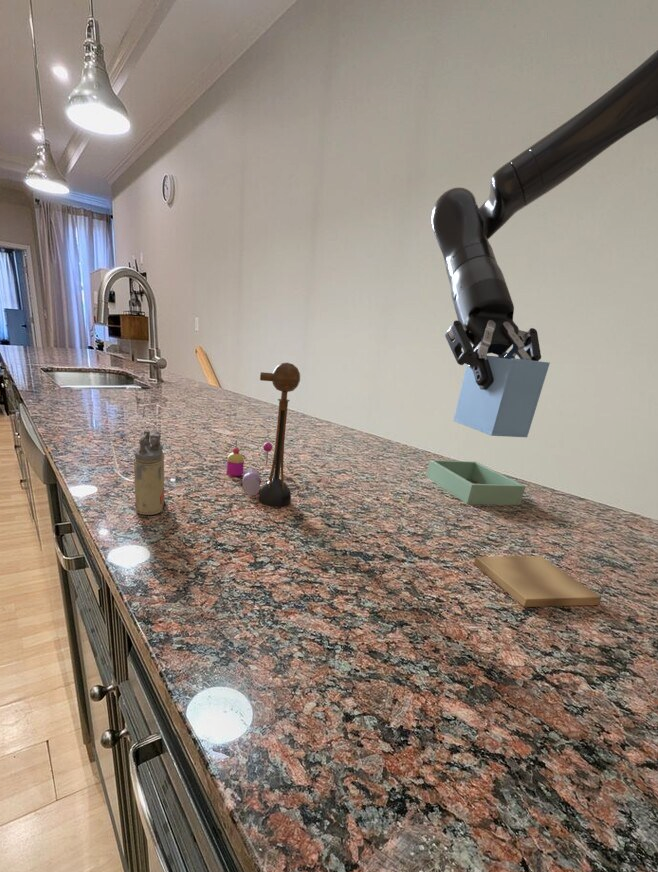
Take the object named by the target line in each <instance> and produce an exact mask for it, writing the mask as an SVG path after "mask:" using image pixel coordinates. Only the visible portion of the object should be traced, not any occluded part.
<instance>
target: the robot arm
mask: <svg viewBox="0 0 658 872" xmlns="http://www.w3.org/2000/svg"><path fill="white" fill-rule="evenodd" d="M653 119H656V121H658V49H657V50H656V51H655V52H653V53H652V54H651V55H650V56H648V58H647V59H645V60H644V61H643V62H642V63H641V64H640V65H638V66H637V67H636V68H635V69H634V70H633V71H631V72H630V73H629V74H628V75H626V76H625V77H624V78H623V79H621V80H620V81H619V82H618V83H616V84H614V86H613V87H611V88H610V89H609V90H607V91H606V92H605V93H604V94H602V95H601V96H600V97H599V98H597V99H596V100H595V101H593V102H592V103H591V104H589V105H588V106H587V107H585V108H584V109H582V110H581V111H579V112H578V113H577V114H575V115H574V116H573V117H571V118H569V119H568V120H566V121H565V122H564V123H563V124H561V125H559V126H558V127H557V128H555V129H554V130H553V131H551V132H550V133H548V134H547V135H545V136H544V137H542V138H541V139H539V140H537V141H536V142H535V143H533V144H532V145H530V146H529V147H527V148H526V149H524V151H522V152H520V153H519V154H517V155H516V156H515V157H513V158H512V159H510V160H509V161H508V162H506V163H505V164H503V165H502V166H500V167H499V168H498V169H497V170H495V172H494V173H493V174H492V175H491V178H490V183H489V195H488V197H487V199H485V201H484V202H483V203H482V204H481V205H480V207H479V205H478V201H477V199H476V197H475V194H474V193H473V192H472V191H471V190H469V189H468V188H465V187H458V186H457V187H452V188H450V189H448V190H446V191H444V192H443V193H442V194H441V195H440V196H439V197H438V198H437V199H436V201H435V203H434V205H433V207H432V210H431V214H430V224H431V228H432V231H433V233H434V236H435V239H436V241H437V244H438V246H439V248H440V252H441V253H442V256H443V261H444V264H445V265H444V266H445V270H446V275H447V278H448V281H449V286H450V295H451V300H452V304H453V307H454V311H455V314H456V318H457V320H453V322H452V324H451V325H450V326H449V328H448V329H447V330H446V332H445V333H444V336H445V340H446V341H447V344H448V346H449V348H450V350H451V353H452V355H453V357H454V359H455V361H456V363H457V365H460V366H464V365H467V364H468V365H469V367H470V368H471V369H472V370H473V373H474V376H475V380H476V383H477V385H479V387H480V389H481V390H486V389H488V387H489V386H490V385H491V384H492V383H493V381H494V378H493V374H492V371H491V368H490V364H489V361H488V360H487V359H485V358H486V356H488V355H489V354H493V355H495V356H496V355H497V357H499V358H505V359H510V358H516V356H517V357H518V359H524V360H532V361H540V360H541V359H542V354H541V347H540V341H539V335H538V331H537V330H536V328H534V327H531V328H529V330H527V331H525V330H520V328H519V326H518V325H517V324H516V323H515V321H514V313H515V306H514V301H513V299H512V296H511V293H510V290H509V288H508V284H507V282H506V278H505V275H504V273H503V271H502V269H501V267H500V265H499V264H498V260H497V259H496V255H495V253H494V250H493V247H492V245H491V243H490V241H489V240H490V238H491V237H493V236H494V235H495V234H496V233H497V232H498V231H499V230H500V229H501V228H502V227H503V226H504V225H505V224H506V223H507V222H508V221H509V220H510V219H511V218H512V217H513V216H514V215H515V214H516V213H518V212H519V211H521V210H523V209H524V208H525V207H527V206H529V205H531V204H533V203H534V202H535V201H537V200H539V199H540V198H541V197H543V196H544V195H547V194H548V193H550V191H552V190H553V189H555V188H557V187H559V185H561V184H562V183H564V182H565V181H566V180H568V179H569V178H571V177H572V176H573V175H575V174H576V173H577V172H579V171H580V170H581V169H582V168H584V167H585V166H586V165H588V164H589V163H591V162H592V161H593V160H594V159H595V158H597V157H598V156H599V155H600V154H602V153H603V152H604V151H606V150H607V149H609V148H610V147H611V146H613V145H614V144H615V143H617V142H619V141H620V140H621V139H623V138H624V137H626V136H627V135H628V134H630V133H632V132H633V131H635V130H637V129H638V128H640V127H641V126H643V125H645V124H646V123H648V122H650V121H652V120H653ZM511 347H512V348H511ZM510 348H511V349H510Z"/></svg>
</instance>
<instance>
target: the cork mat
mask: <svg viewBox="0 0 658 872" xmlns="http://www.w3.org/2000/svg"><path fill="white" fill-rule="evenodd" d="M473 565H474V566H476V567H477V568H478V569H479V568H480V569H481V570H480V569H479V570H480V571H481V572H483V573H484V574H485V575H486V576H487V577H488V576H489V577H488V578H490V580H492V581H493V582H494V583H495V584H496V585H498V586H499V588H501V589H502V590H503V591H505V592H506V593H507V594H508V595H509V596H510V597H511V598H513V599H514V600H515V601H516V602H517V603H518V604H520V605H521V606H522V607H523V608H540V607H543V608H544V607H571V606H572V607H574V606H576V607H577V606H598V605H600V602H601V599H602V596H601V595H600V594H598V593H596V592H595V591H593V590H592V589H591V588H589V587H587V586H585V585H584V584H583V583H581V582H580V581H579V580H577V579H575V578H574V577H573V576H571V575H569V574H568V573H566V572H565V571H564V570H562V569H560V568H559V567H558V566H556V565H554V564H553V563H552V562H550V561H549V560H548V559H545V558H544V557H543V556H539V555H537V556H533V555H532V556H531V555H529V556H528V555H527V556H522V555H521V556H475V559H474V561H473Z"/></svg>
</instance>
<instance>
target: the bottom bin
mask: <svg viewBox="0 0 658 872" xmlns="http://www.w3.org/2000/svg"><path fill="white" fill-rule="evenodd" d="M425 478H427V479H429V480H430V481H432V482H433V483H435V484H436V485H438V486H439V487H441V488H442V489H444V490H445V491H446V492H448V493H449V494H451V495H453V496H454V497H456V498H457V499H459V500H460V501H462V502H463V503H465V504H466V505H500V506H501V505H502V506H503V505H504V506H520V505H521V503H522V500H523V497H524V493H525V491H526V487H527V486H526V485H524V484H522V483H520V482H518V481H516V480H514V479H512V478H510V477H508V476H506V475H504V474H502V473H500V472H498V471H496V470H494V469H492V468H490V467H488V466H486V465H484V464H482V463H480V462H478V461H470V460H469V461H465V460H441V459H429V460H428V465H427V470H426V474H425ZM469 480H472V481H474V482H475V483H473V482H471V481H469Z"/></svg>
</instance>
